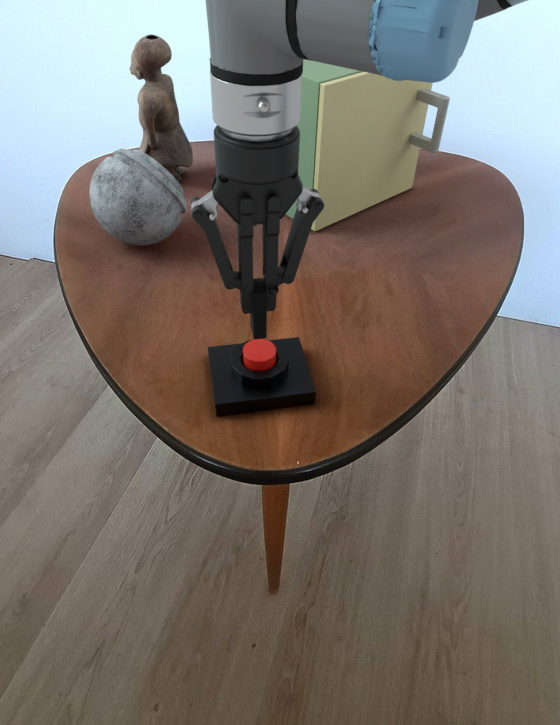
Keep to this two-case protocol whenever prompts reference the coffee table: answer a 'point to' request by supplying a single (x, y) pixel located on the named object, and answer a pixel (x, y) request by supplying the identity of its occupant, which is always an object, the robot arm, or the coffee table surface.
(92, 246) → the coffee table surface
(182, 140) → the clay figurine
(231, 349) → the button block
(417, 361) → the coffee table surface
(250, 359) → the button
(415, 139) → the door
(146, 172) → the decorative orb
